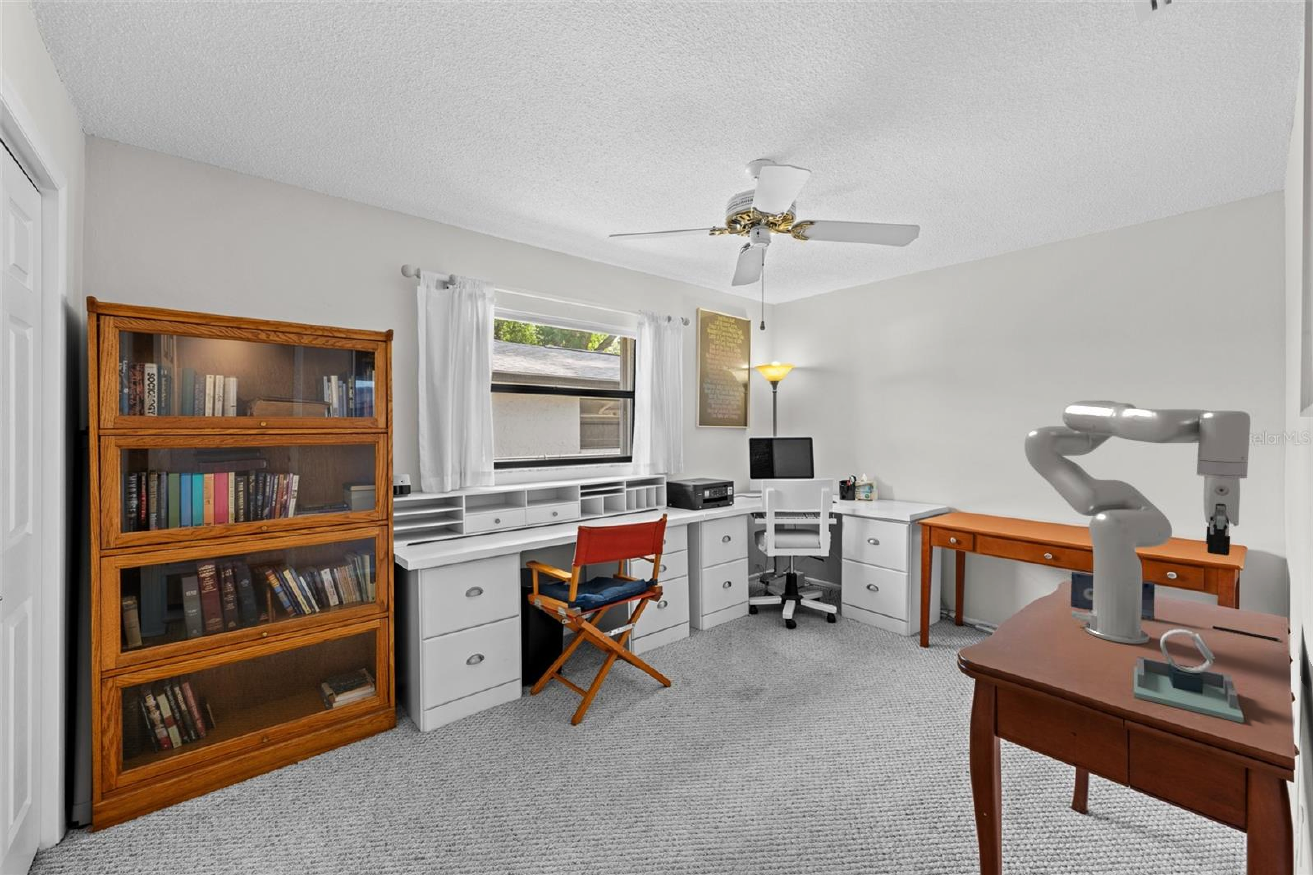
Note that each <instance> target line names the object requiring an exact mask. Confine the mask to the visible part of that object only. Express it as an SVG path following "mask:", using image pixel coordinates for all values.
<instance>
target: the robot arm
mask: <svg viewBox="0 0 1313 875" xmlns="http://www.w3.org/2000/svg"><path fill="white" fill-rule="evenodd" d="M1062 422H1063V423H1064V425H1065V426H1064V425H1061V426H1060V425H1059V426H1058V425H1053V426H1051V425H1049V426H1042V427H1038V428H1034V429H1033V430H1031V431H1029V433H1027V435H1026V437H1025V439H1024V453H1025V457H1026V459H1027V462H1029V465H1030V466H1031V467H1032V468H1033V469H1034V470H1035V472H1037V474H1039V475H1040V476H1041V477H1042V478H1044V479H1045V481H1047V482H1048V484H1050V485H1051V487H1052V488H1054V490H1055V491H1056V492H1057V493H1058V494H1059V495H1060V497H1062V498H1063V500H1064V501H1065V502H1067V504H1068V505H1069V506H1070V507H1071V508H1072V509H1073V510H1074V511H1075V512H1076V513H1078V514H1080V515H1082V516H1085V517H1086V516H1087V517H1088V516H1089V517H1092V518H1091V519H1090V521H1089V524H1088V528H1089V530H1088V532H1089V535H1090V536H1089V537H1090V540H1091V545H1092V553H1093V556H1092V557H1093V564H1092V566H1093V572H1092V574H1093V610H1090V611H1091V612H1089V611H1087V612H1080V611H1075V610H1071V613H1070V614H1071V615H1070V617H1071V619H1074V620H1075V621H1078V622H1085V624H1084V629H1085V631H1086V632H1087V633H1089V634H1091V635H1092V636H1095V637H1098V638H1100V639H1103V640H1107V641H1112V642H1114V643H1115V642H1117V643H1122V644H1133V645H1141V644H1146V643H1147V644H1148V642H1149V641H1150V635H1149V634H1148V633H1147V632H1145V631H1144V630H1142V619H1141V613H1142V581H1143V566H1142V562H1141V560H1140V558H1139V556H1138V554H1137V552H1136V550H1135V549H1136V548H1153V547H1160V546H1163V545H1164V544H1167V542H1169V541H1170V540H1171V538H1172V535H1173V528H1172V524H1171V522H1170V520H1169V519H1168V518H1167V516H1166V514H1164V513H1163V512H1162V511H1161V510H1160V509H1159V508H1158V507H1157V506H1156V505H1154V503H1153V502H1151V501H1150V500H1149V499H1148V498H1147V497H1146V496H1145V495H1143V493H1141V492H1140V491H1139V490H1138V489H1137V488H1136V487H1134V486H1133V485H1132V484H1129V483H1127V482H1125V481H1122V480H1118V479H1117V480H1116V479H1097V478H1094V477H1093V476H1091V475H1090V474H1089V473H1087V471H1086V470H1084V468H1083V467H1081V466H1080V465H1079V464H1077V463H1076V462H1075V461H1072V460H1071V459H1069V458H1067V457H1070V456H1071V457H1073V456H1074V457H1075V456H1078V457H1079V456H1085V455H1087V454H1089V453H1092V452H1093V451H1095V450H1096V449H1098V448H1099V447H1100V446H1102V444H1103V445H1104V443H1105V442H1107V441H1108V440H1109V439H1110V438H1112V437H1115V438H1120V439H1124V440H1129V441H1136V442H1145V443H1150V444H1151V443H1152V444H1198V445H1197V447H1198V448H1197V461H1196V463H1197V464H1196V475H1197V476H1201V477H1203V478H1204V479H1203V511H1204V512H1203V513H1204V518H1205V523H1208V525H1207V526H1206V538H1205V539H1206V540H1205V542H1206V543H1205V544H1206V545H1207V547H1206V548H1207V550H1206V551H1207V553H1208V554H1209V555H1210V554H1212V555H1219V556H1227V557H1228V556H1229V555H1230V548H1231V547H1230V546H1231V536H1230V524H1232V525H1233V527H1237V526H1239V523H1240V501H1241V481H1240V479H1247V478H1248V467H1249V452H1250V451H1249V450H1250V449H1249V448H1250V436H1251V434H1250V432H1251V416H1250V415H1249V413H1247V412H1246V411H1241V410H1205V409H1194V408H1193V409H1190V408H1189V409H1186V408H1184V409H1181V408H1180V409H1178V408H1174V409H1173V408H1172V409H1170V408H1169V409H1155V408H1154V409H1153V408H1151V409H1150V408H1138V407H1136V405H1133V404H1132V403H1128V402H1117V401H1113V400H1079V401H1075V402H1074V401H1073V403H1070V404H1069V405H1067V406H1066V408H1064V410H1063V412H1062Z"/></svg>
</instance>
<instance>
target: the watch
mask: <svg viewBox="0 0 1313 875" xmlns="http://www.w3.org/2000/svg"><path fill="white" fill-rule="evenodd" d="M1175 635H1188V636H1190V638H1191V640H1192V642H1193V643H1194V645H1195V647H1196V648H1197V649H1198V650H1199V652H1200V653H1201V655H1202V657H1203V658H1204V659H1206V661H1205V662H1204V663H1202V665H1199V666H1190V665H1185V664H1179V663H1176V661H1175V659H1173V658H1172V656H1171V655H1170V654H1169V652H1168V651H1167V648H1166V643H1165V642H1166V640H1167V639H1168V638H1170V637H1172V636H1175ZM1159 643H1160V644H1159V646H1160V648H1161V652H1162V654H1163V656H1164V658H1165V659H1166V660H1167V662H1168V663H1169V679H1170V681H1171V684H1172V687H1173V688H1177V689H1182V690H1187V691H1191V692H1196V693H1201V694H1203V677H1202V675H1201V673H1200V672H1204V671H1206V670H1208V671H1209V669H1210V668H1211V667H1212V665H1213V664H1214V662H1213V661H1214V660H1216V657H1215V655H1214V653H1213V652H1212V651H1211V648H1210V647H1209V646H1208V644H1207V642H1206V641H1205V640H1204V639H1203V638H1202V636H1201V634H1199V633H1195V632H1193V631H1191V630H1190V629H1183V628H1175V629H1170V630H1169V631H1166V632H1165V633H1164V634H1163V635H1162V636H1161V638H1160V642H1159Z"/></svg>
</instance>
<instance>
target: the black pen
mask: <svg viewBox="0 0 1313 875" xmlns="http://www.w3.org/2000/svg"><path fill="white" fill-rule="evenodd" d="M1212 630H1218V631H1222V632H1228V633H1232V632H1233V633H1232V634H1238V635H1243V636H1247V637H1251V638H1252V637H1253V638H1258V639H1263V640H1268V641H1273V642H1277V643H1278V642H1279V643H1284V640H1283V639H1281V638H1278V637H1273V636H1267V635H1262V634H1256V633H1252V632H1246V631H1242V630H1239V629H1232V628H1227V627H1222V626H1215V625H1212Z"/></svg>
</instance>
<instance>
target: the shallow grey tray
mask: <svg viewBox="0 0 1313 875" xmlns="http://www.w3.org/2000/svg"><path fill="white" fill-rule="evenodd" d="M1136 659H1137V662H1136V663H1137V664H1136V665H1135V666H1133V670H1134V671H1133V697H1134V698H1137V699H1140V700H1145V701H1149V702H1153V703H1157V704H1160V705H1166V706H1168V707H1169V706H1170V707H1173V708H1179V709H1182V710H1187V711H1191V712H1196V713H1198V714H1204V715H1206V716H1212V717H1215V718H1219V719H1224V720H1229V721H1233V722H1237V723H1242V724H1244V722H1245V720H1244V718H1245V717H1244V715H1243V712H1242V709H1241V707H1240V703H1239V700H1238V693H1237V691H1236V689H1235V685H1234V683H1233V680H1232V677H1231V675H1230V674H1227V673H1223V672H1217V671H1213V670H1209V669H1208V670H1206V671H1204V672H1200V673H1201V675H1202V677H1203V694H1201V693H1196V692H1191V691H1187V690H1182V689H1177V688H1173V687H1172V684H1171V681H1170V679H1169V662H1168V661H1162V660H1158V659H1152V658H1149V657H1143V656H1137V658H1136Z"/></svg>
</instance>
